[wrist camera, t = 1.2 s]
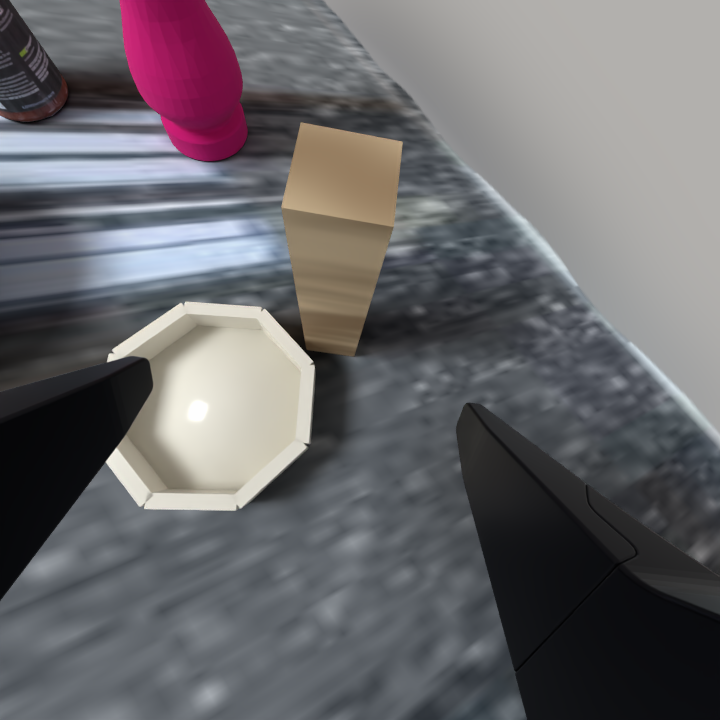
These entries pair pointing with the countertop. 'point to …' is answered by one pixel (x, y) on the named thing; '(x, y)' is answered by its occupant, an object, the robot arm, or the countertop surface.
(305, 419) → the bowl
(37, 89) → the supplement bottle
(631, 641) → the robot arm
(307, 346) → the tall wooden post
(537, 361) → the countertop surface
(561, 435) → the countertop surface
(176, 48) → the pepper mill
